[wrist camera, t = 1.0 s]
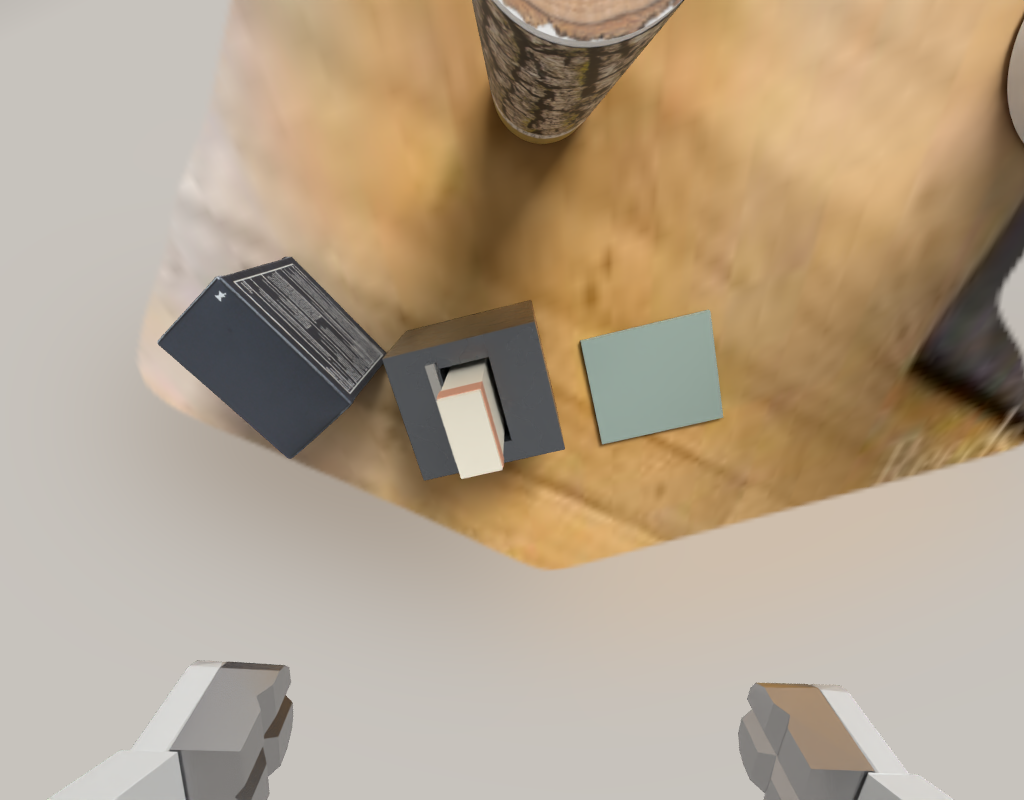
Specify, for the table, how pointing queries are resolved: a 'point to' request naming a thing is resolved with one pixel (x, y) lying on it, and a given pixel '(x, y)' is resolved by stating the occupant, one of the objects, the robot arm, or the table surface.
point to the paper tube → (560, 57)
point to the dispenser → (517, 373)
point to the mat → (654, 377)
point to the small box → (275, 351)
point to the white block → (473, 417)
